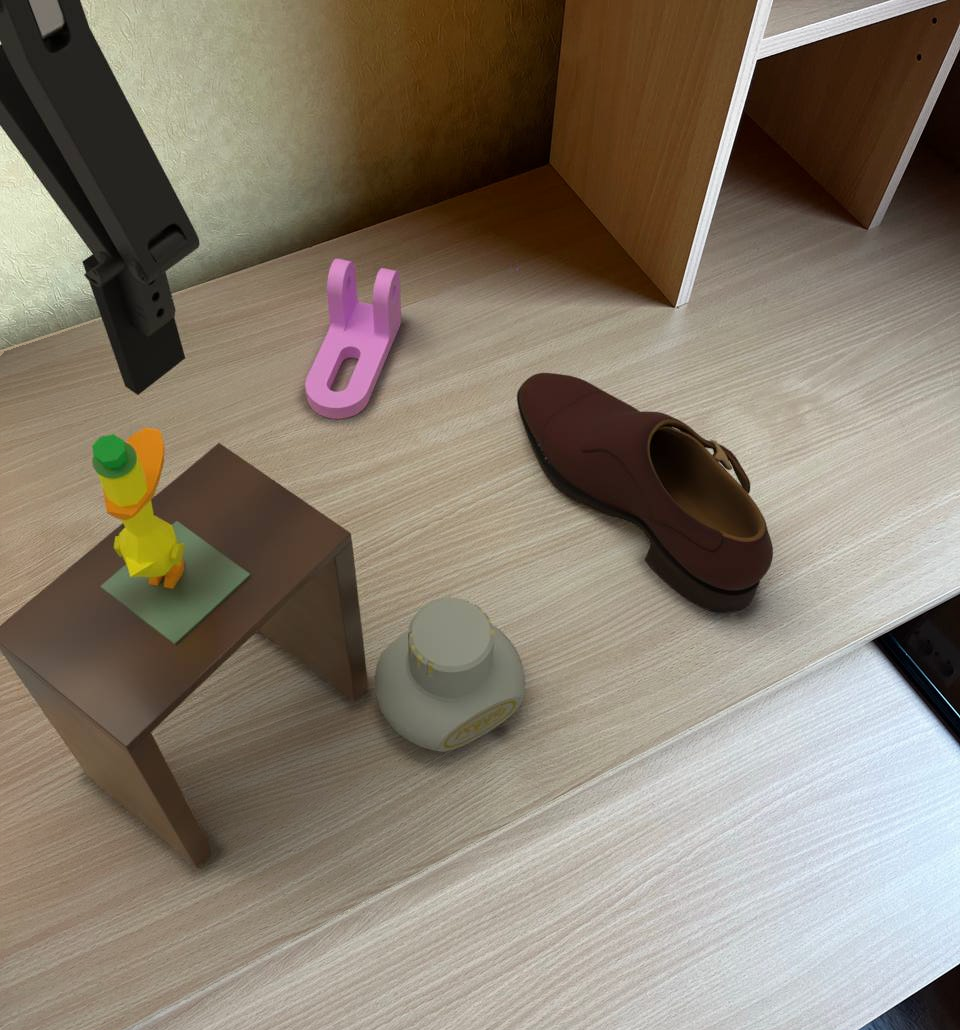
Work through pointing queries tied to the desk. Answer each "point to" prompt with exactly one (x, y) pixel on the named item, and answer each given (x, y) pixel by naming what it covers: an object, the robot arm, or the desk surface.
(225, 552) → the shelf
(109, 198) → the robot arm
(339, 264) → the bracket
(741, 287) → the desk surface
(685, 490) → the dress shoe
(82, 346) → the desk surface
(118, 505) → the toy figure
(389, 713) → the air freshener
